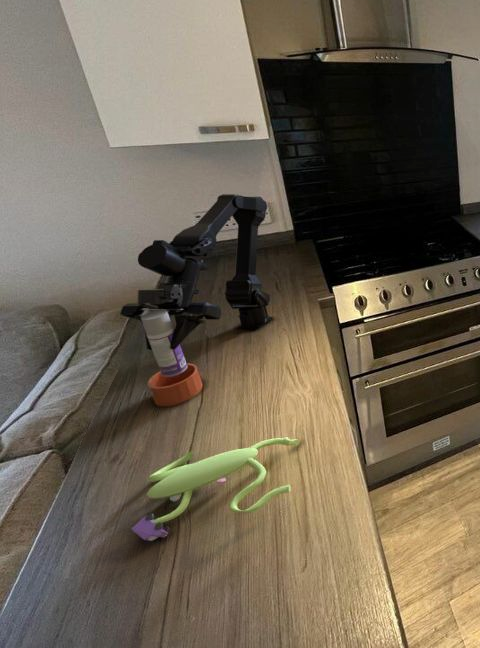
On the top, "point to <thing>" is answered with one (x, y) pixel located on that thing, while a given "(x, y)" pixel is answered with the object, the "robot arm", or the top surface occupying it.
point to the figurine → (205, 483)
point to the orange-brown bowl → (175, 386)
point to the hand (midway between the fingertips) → (160, 349)
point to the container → (163, 343)
